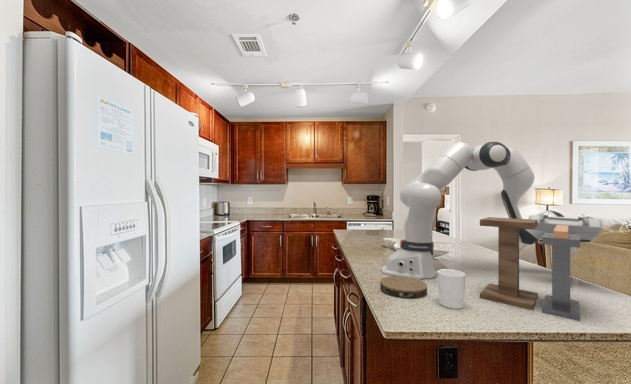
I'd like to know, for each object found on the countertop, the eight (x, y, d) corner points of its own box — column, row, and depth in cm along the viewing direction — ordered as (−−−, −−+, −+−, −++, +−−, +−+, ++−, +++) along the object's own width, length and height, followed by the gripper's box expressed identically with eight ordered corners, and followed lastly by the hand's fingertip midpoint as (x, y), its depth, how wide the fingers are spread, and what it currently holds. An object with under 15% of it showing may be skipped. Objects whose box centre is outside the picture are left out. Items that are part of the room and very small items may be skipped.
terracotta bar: (556, 230, 95) (556, 224, 95) (568, 231, 93) (568, 225, 93) (553, 237, 79) (553, 230, 79) (567, 239, 77) (567, 231, 77)
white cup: (464, 312, 80) (464, 277, 80) (435, 306, 84) (435, 273, 84) (466, 303, 87) (466, 271, 87) (439, 297, 91) (439, 267, 91)
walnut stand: (489, 287, 101) (489, 217, 101) (537, 297, 92) (537, 219, 92) (479, 298, 91) (479, 219, 91) (533, 310, 81) (533, 222, 81)
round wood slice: (435, 292, 97) (435, 283, 97) (412, 303, 87) (412, 294, 87) (396, 281, 109) (396, 273, 109) (371, 290, 99) (371, 282, 99)
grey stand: (545, 299, 90) (545, 232, 90) (579, 306, 85) (579, 234, 85) (542, 312, 80) (542, 237, 80) (580, 321, 74) (580, 240, 75)
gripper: (530, 221, 114) (526, 205, 106) (600, 226, 100) (603, 208, 92) (528, 235, 112) (525, 220, 104) (600, 242, 98) (603, 225, 89)
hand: (562, 214), depth 98 cm, fingers open, 8 cm apart
